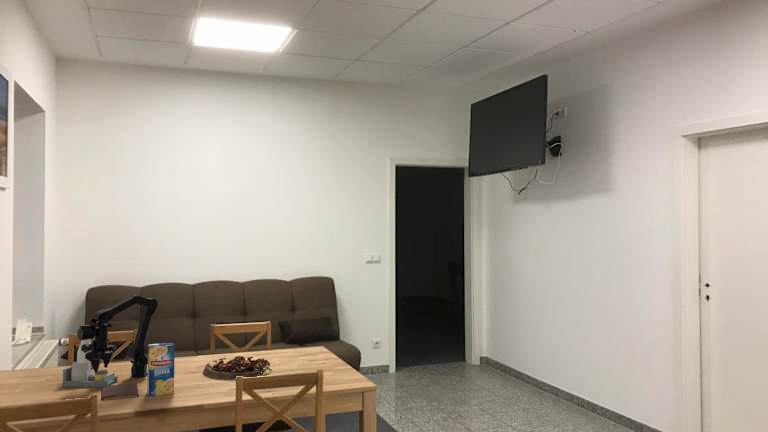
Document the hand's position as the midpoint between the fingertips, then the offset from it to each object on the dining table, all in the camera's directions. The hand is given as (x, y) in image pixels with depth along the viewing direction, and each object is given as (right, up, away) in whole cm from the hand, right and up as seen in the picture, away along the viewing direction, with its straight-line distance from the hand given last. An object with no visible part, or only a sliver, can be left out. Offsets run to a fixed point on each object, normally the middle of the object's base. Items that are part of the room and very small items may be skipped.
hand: (100, 369), depth 285 cm
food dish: (+59, -8, +27) cm, 65 cm away
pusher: (+4, -7, 0) cm, 8 cm away
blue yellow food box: (+34, -7, -14) cm, 38 cm away
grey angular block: (-10, -7, +1) cm, 13 cm away
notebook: (+15, -8, -13) cm, 22 cm away
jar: (0, -7, 0) cm, 7 cm away
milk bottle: (-16, -7, +17) cm, 24 cm away
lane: (-4, -7, 0) cm, 8 cm away
